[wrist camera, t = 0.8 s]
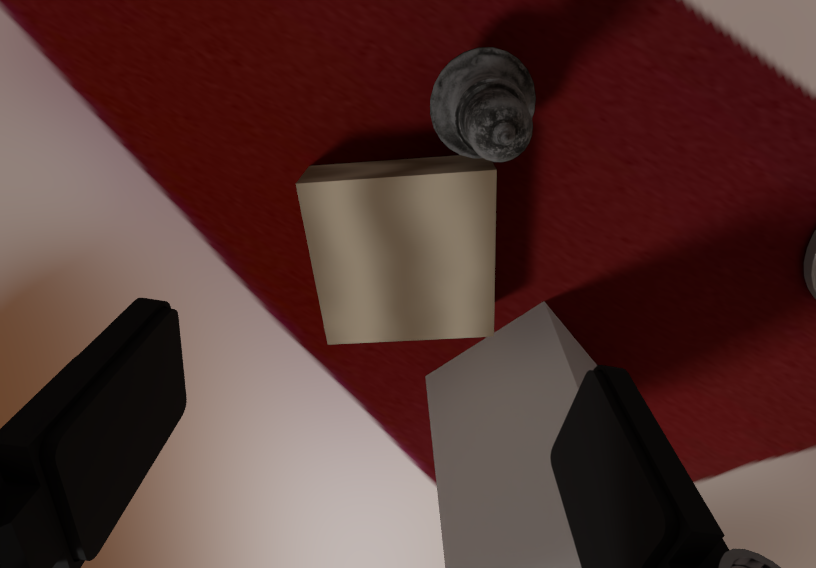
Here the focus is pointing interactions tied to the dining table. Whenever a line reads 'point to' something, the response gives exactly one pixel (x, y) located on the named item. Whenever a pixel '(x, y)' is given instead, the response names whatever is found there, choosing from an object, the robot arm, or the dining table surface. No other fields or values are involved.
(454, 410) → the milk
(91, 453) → the robot arm
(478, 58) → the black chess piece
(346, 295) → the beech block
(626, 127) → the dining table surface
